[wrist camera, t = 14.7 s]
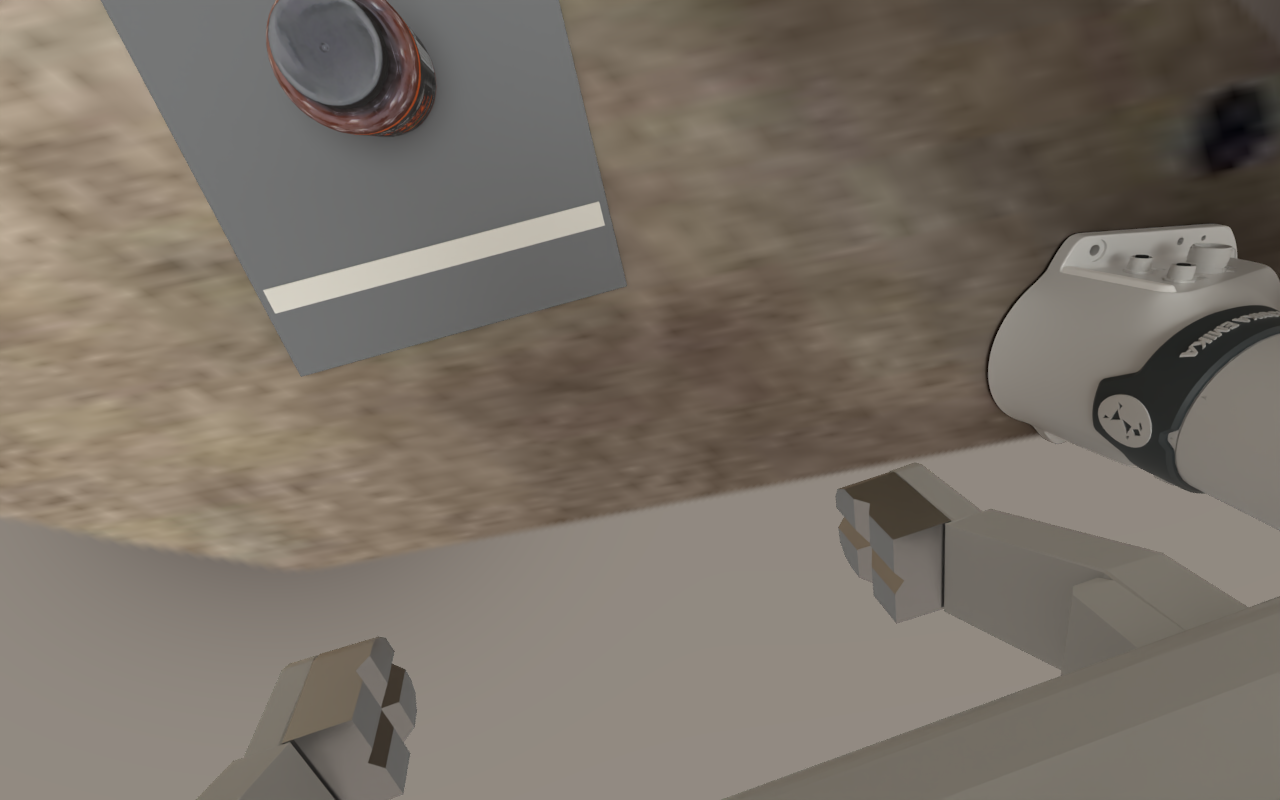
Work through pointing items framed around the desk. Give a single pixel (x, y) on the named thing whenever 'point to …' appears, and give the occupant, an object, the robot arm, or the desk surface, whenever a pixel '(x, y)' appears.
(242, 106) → the mat
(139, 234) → the desk surface
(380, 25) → the supplement bottle
